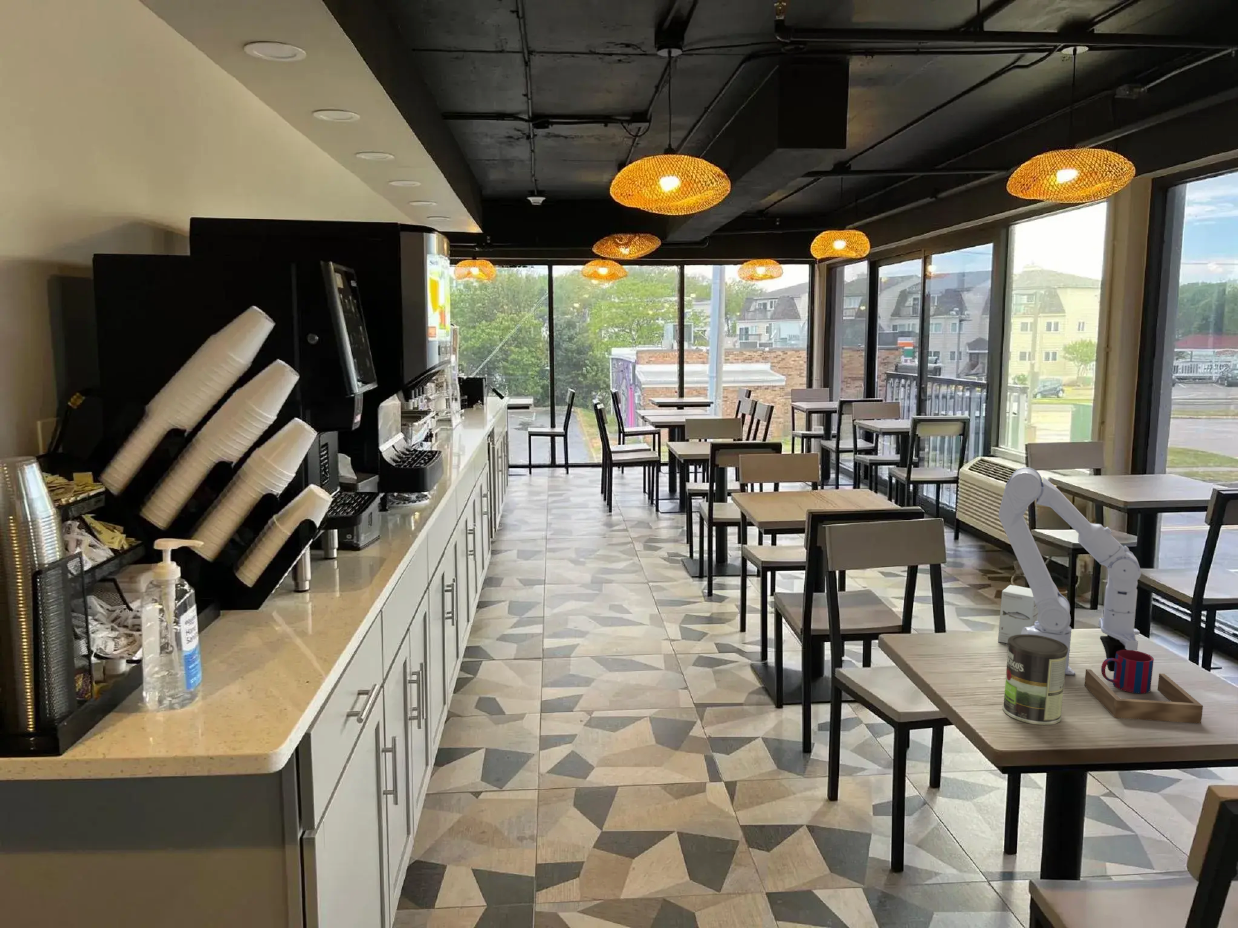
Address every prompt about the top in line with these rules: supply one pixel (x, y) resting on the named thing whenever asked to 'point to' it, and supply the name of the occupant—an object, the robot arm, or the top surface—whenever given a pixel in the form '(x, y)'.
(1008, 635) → the supplement box
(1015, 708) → the coffee can
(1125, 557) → the robot arm
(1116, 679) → the mug
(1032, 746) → the top surface
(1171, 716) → the holder
